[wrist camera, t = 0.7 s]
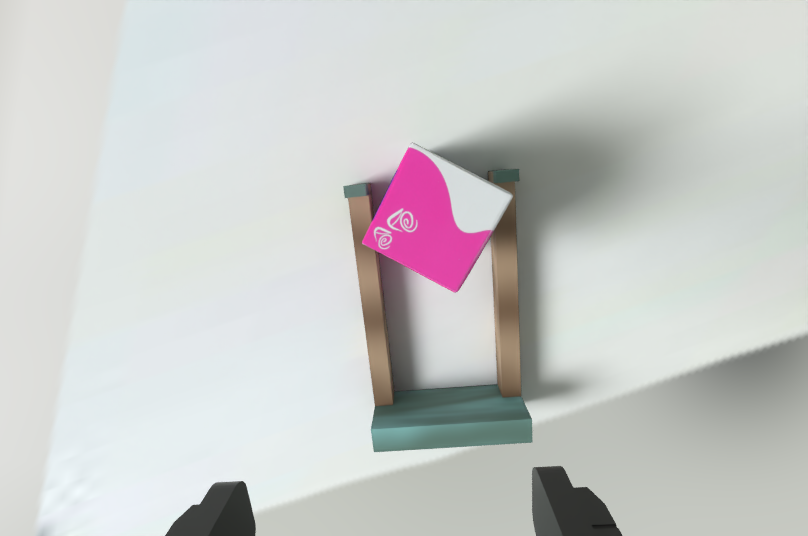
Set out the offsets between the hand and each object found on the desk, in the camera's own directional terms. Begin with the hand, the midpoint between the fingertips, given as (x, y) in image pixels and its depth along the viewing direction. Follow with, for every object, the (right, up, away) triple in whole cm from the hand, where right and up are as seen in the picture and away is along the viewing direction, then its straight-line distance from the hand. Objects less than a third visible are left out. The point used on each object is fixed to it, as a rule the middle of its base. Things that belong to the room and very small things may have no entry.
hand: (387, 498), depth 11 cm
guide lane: (+3, +4, +21) cm, 22 cm away
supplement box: (+3, +11, +19) cm, 23 cm away
